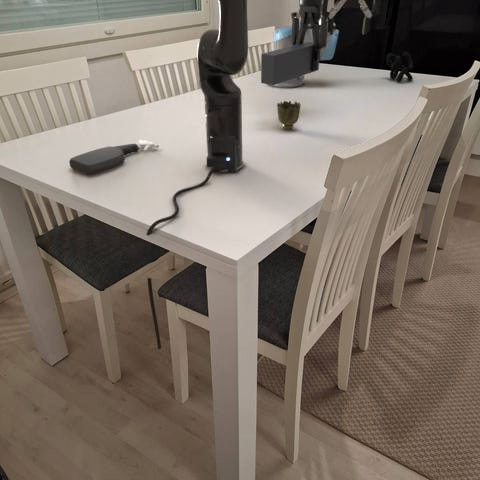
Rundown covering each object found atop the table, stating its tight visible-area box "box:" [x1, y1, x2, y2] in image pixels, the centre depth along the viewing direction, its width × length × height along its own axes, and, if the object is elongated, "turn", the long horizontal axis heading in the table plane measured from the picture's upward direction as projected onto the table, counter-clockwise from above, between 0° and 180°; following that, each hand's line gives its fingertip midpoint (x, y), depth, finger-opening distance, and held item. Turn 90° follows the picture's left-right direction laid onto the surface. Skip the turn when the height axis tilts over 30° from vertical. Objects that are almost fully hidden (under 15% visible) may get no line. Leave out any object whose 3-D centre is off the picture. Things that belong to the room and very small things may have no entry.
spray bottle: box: [68, 139, 160, 177], centre depth 124 cm, size 3×11×24 cm
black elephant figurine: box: [385, 51, 414, 83], centre depth 198 cm, size 11×10×15 cm
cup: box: [276, 100, 302, 131], centre depth 143 cm, size 8×7×8 cm
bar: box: [260, 42, 320, 86], centre depth 144 cm, size 26×5×9 cm, turn 139°
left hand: (347, 34), depth 115 cm, fingers open, 8 cm apart
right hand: (307, 68), depth 152 cm, fingers closed on bar, 5 cm apart
